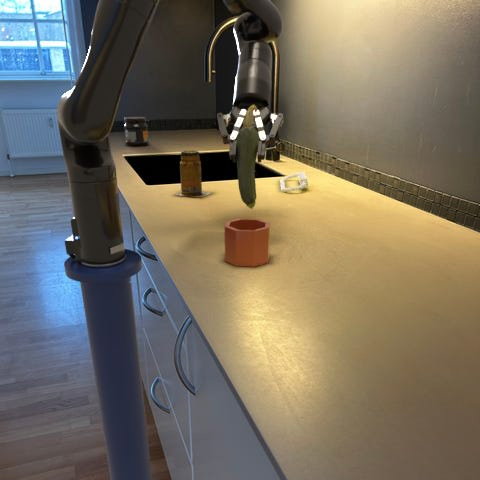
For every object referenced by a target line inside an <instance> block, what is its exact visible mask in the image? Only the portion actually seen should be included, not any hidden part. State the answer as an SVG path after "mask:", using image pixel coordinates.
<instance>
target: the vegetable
mask: <svg viewBox="0 0 480 480" xmlns="http://www.w3.org/2000/svg"><path fill="white" fill-rule="evenodd" d="M254 110H255V111H254ZM253 111H254V112H255V113H257V107H256V106H255V105H252V106H250V107H249V108H248V111H246V115H245V118H244V121H243V125H244V126H243V127H242V128H241V129H240V131H239V133H238V137H237V161H236V167H237V182H238V190H239V196H240V199H241V201H242V202H243V203H244V204H245V206H246V207H247V208H248V209H251V210H253V209H254V208H255V206H256V202H257V201H256V200H257V188H256V185H257V184H256V176H255V175H256V174H255V172H256V171H255V167H256V162H257V154H258V142H259V136H258V132H257V130H256V129H255V128H254V127H253V126H252V124H253V119H254V114H253Z"/></svg>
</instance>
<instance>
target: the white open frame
mask: <svg viewBox="0 0 480 480" xmlns="http://www.w3.org/2000/svg"><path fill="white" fill-rule="evenodd" d="M293 178H298V180H299V185H297V186H293V187H286V182H285V181H287V180H290V179H293ZM307 188H309V183H308V178H307V175H306V171H300V172H299V171H298V172H297V173H293V174H289V175H285V176H284V177H282V178H280V190H281V192H283V193H290V192H295V191H298V190H299V191H300V190H301V191H302V190H303V189H307Z"/></svg>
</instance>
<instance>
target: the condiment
mask: <svg viewBox="0 0 480 480" xmlns="http://www.w3.org/2000/svg"><path fill="white" fill-rule="evenodd" d="M179 173H180V190H181V192H179V193H175V196H182V197H192V198H204V197H207V196H209V195H211V194H213V192H211V191H204V190H203V187H202V186H203V184H202V183H203V182H202V162H201V159H200V152H199V151H197V150H182V151H181V152H180V162H179Z"/></svg>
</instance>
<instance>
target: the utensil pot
mask: <svg viewBox="0 0 480 480" xmlns="http://www.w3.org/2000/svg"><path fill="white" fill-rule="evenodd" d="M270 232H271V222H269V221H266V220H262V219H260V218H246V217H245V218H237V219H232V220H231V219H230V220H227V221H226V223H225V225H224V262H227V263H229V264H231V265H233V266H235V267H254V268H255V267H258V266H261V265H264V264H268V263H269V259H270V238H271V237H270V236H271V235H270V234H271V233H270Z"/></svg>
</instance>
